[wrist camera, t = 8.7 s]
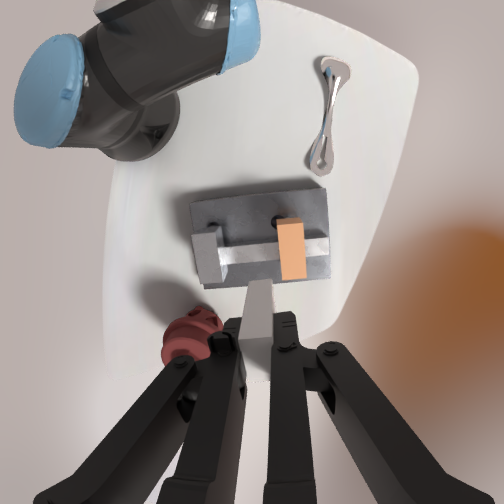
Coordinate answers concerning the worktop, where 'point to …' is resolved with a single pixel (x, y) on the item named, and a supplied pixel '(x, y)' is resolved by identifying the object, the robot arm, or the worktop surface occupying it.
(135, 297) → the worktop surface
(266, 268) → the hole plate
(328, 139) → the grey spoon
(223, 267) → the bar
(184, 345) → the mechanical component
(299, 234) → the block
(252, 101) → the worktop surface
